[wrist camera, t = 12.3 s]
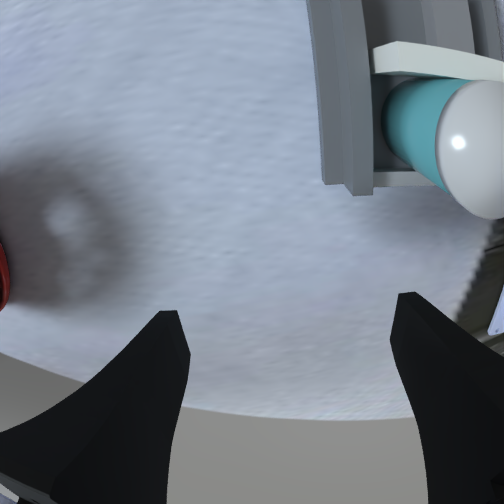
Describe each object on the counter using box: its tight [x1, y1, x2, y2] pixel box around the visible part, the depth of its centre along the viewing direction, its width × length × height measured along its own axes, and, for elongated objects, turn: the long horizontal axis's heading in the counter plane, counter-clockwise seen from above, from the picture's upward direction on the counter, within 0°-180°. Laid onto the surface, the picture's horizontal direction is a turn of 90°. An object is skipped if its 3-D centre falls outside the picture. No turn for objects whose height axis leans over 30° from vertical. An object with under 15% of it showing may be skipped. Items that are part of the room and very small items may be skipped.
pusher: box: [368, 0, 504, 82], centre depth 10 cm, size 6×5×4 cm
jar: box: [381, 78, 504, 219], centre depth 11 cm, size 5×5×7 cm
